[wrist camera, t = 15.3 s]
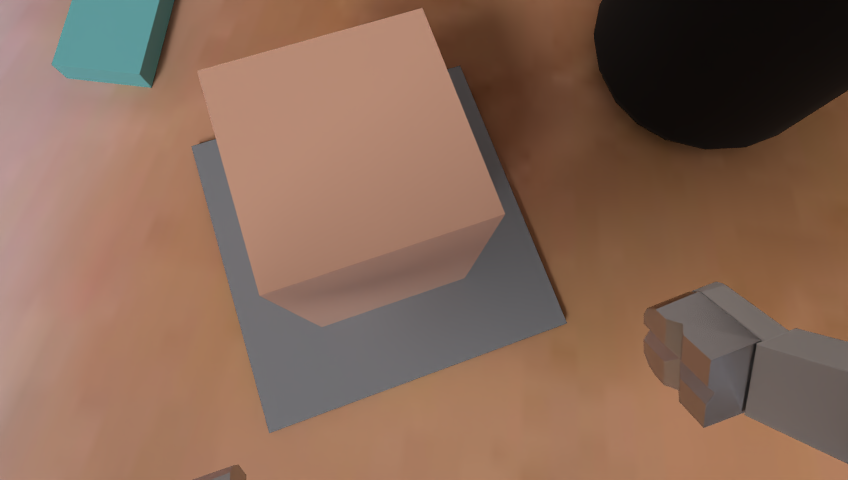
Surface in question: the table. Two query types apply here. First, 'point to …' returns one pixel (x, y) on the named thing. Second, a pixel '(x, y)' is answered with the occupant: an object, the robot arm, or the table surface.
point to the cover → (351, 168)
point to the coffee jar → (722, 65)
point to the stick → (113, 40)
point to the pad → (383, 307)
